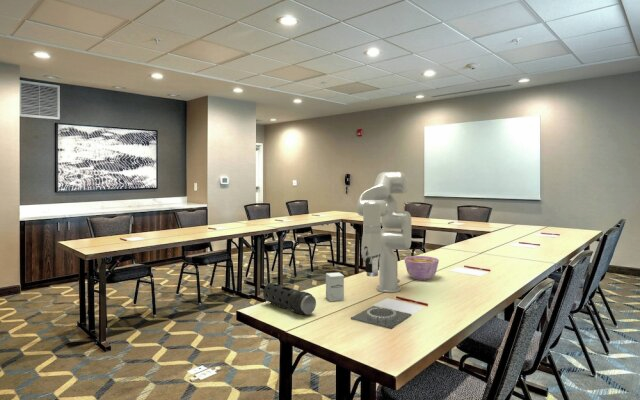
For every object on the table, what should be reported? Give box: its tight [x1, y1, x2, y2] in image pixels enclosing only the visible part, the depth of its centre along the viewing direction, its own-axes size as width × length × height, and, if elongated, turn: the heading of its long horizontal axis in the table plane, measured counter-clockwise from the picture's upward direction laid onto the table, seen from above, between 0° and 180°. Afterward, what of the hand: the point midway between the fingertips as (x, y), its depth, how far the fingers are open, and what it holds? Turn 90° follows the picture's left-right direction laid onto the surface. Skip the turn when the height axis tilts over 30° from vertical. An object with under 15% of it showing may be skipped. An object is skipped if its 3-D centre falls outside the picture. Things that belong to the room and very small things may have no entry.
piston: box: [366, 256, 379, 278], centre depth 169 cm, size 5×5×8 cm
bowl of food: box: [404, 255, 440, 281], centre depth 230 cm, size 20×20×12 cm
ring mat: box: [350, 305, 412, 330], centre depth 167 cm, size 19×19×2 cm
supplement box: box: [325, 272, 345, 303], centre depth 193 cm, size 7×7×13 cm
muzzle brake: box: [262, 282, 317, 316], centre depth 178 cm, size 10×28×10 cm, turn 44°
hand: (372, 270), depth 169 cm, fingers closed on piston, 5 cm apart
